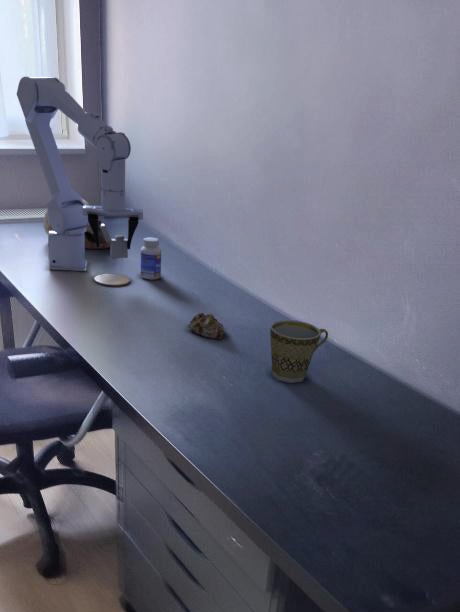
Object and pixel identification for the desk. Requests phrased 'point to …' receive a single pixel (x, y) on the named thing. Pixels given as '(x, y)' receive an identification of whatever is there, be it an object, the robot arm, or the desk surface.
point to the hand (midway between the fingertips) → (113, 247)
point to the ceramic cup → (293, 348)
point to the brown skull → (88, 235)
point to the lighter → (115, 244)
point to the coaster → (112, 279)
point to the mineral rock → (207, 326)
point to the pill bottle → (150, 259)
